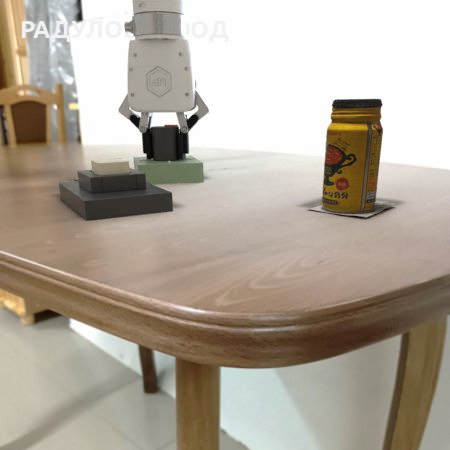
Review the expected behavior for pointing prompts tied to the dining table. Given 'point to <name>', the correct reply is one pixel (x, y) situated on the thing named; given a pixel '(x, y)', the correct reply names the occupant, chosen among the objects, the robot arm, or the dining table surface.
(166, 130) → the volume knob
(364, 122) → the condiment
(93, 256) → the dining table surface
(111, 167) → the white key
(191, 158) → the panel
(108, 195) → the tiered dark pedestal
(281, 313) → the dining table surface
